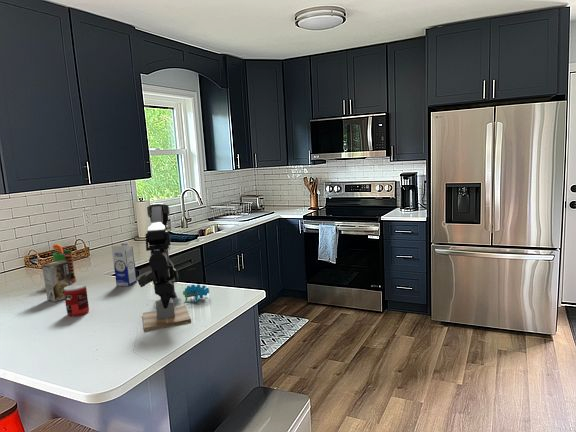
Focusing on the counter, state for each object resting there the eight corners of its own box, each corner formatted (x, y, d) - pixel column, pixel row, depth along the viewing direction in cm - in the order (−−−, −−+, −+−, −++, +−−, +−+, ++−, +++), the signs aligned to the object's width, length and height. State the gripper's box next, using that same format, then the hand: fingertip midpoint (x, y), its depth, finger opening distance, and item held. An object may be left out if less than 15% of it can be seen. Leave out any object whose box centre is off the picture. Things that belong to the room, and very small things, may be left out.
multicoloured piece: (75, 283, 214) (69, 244, 211) (55, 286, 211) (49, 247, 208) (77, 278, 223) (71, 241, 220) (57, 281, 220) (52, 243, 217)
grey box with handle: (156, 314, 159) (155, 300, 159) (173, 311, 161) (171, 297, 161) (157, 319, 154) (156, 305, 153) (175, 316, 156) (173, 302, 155)
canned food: (68, 311, 173) (64, 285, 171) (90, 308, 175) (86, 282, 174) (66, 318, 165) (62, 290, 164) (88, 314, 168) (84, 287, 167)
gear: (213, 292, 181) (204, 281, 173) (212, 305, 177) (202, 294, 169) (188, 296, 182) (178, 285, 175) (187, 308, 179) (176, 298, 171)
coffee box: (66, 293, 198) (61, 259, 195) (74, 295, 194) (69, 260, 192) (46, 300, 190) (41, 264, 188) (54, 302, 187) (49, 266, 184)
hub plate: (142, 315, 163) (141, 303, 162) (185, 308, 168) (184, 296, 167) (144, 331, 148) (142, 318, 147) (191, 322, 153) (189, 309, 152)
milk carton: (116, 286, 205) (111, 245, 202) (124, 282, 211) (119, 242, 208) (129, 286, 203) (124, 245, 200) (137, 282, 210) (132, 242, 207)
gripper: (136, 260, 161) (140, 300, 163) (137, 272, 143) (142, 317, 145) (166, 256, 164) (171, 295, 167) (171, 267, 147) (175, 311, 149)
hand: (164, 304), depth 157 cm, fingers open, 9 cm apart
